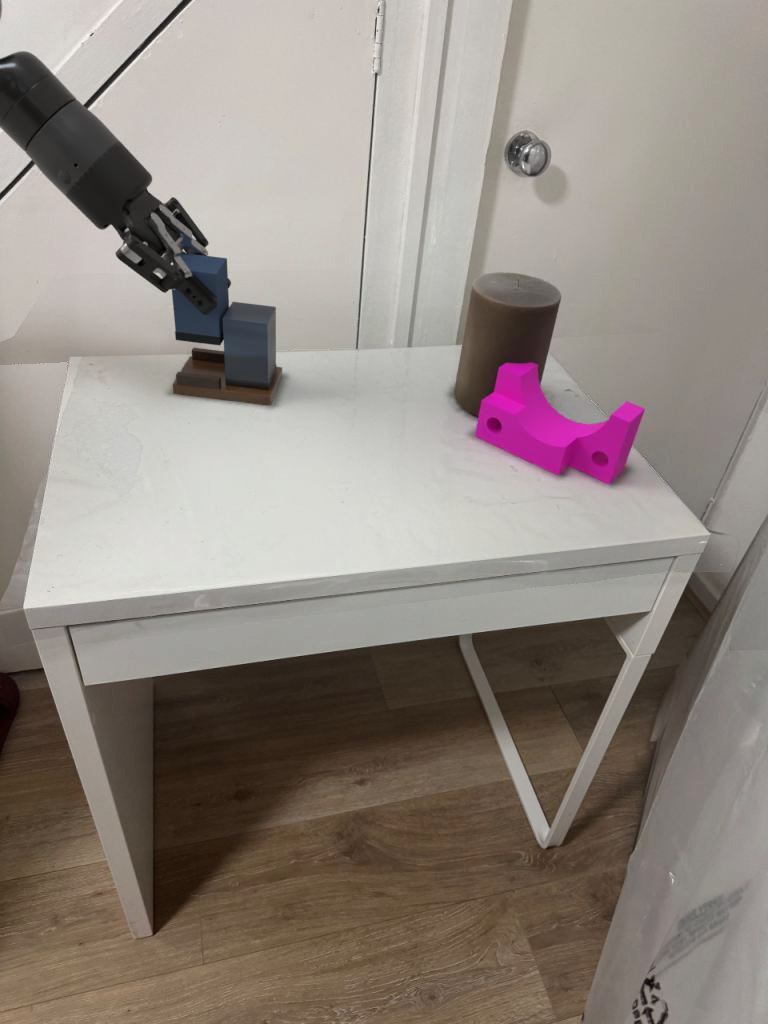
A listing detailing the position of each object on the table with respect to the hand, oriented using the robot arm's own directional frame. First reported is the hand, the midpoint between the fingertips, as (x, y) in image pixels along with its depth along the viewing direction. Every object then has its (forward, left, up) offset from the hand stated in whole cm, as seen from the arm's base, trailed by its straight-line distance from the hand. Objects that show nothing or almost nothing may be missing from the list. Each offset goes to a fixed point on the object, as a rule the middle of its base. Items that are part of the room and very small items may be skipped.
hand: (218, 298), depth 81 cm
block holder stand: (+1, 0, -10) cm, 10 cm away
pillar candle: (+32, -2, -10) cm, 33 cm away
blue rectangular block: (-2, 0, -4) cm, 5 cm away
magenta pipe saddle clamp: (+36, -12, -10) cm, 39 cm away
